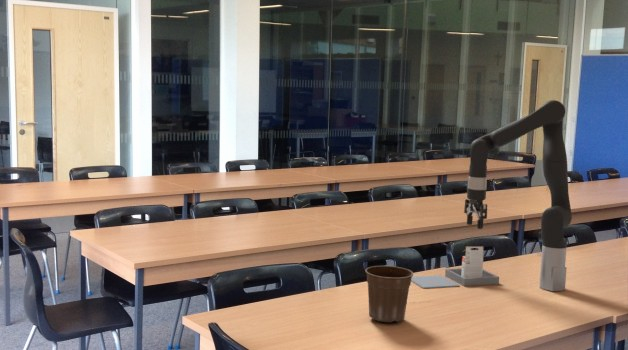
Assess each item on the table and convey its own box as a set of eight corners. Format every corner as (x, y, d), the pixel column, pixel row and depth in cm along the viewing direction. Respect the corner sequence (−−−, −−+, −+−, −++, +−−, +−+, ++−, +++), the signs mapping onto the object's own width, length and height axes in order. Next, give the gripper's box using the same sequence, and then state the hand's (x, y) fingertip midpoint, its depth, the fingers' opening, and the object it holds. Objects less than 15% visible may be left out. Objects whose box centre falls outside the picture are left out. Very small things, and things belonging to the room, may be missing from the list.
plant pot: (414, 312, 248) (416, 267, 246) (407, 327, 232) (409, 279, 230) (368, 307, 252) (370, 263, 250) (359, 321, 237) (361, 274, 235)
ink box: (460, 278, 296) (462, 244, 294) (479, 278, 297) (481, 244, 295) (463, 281, 292) (465, 246, 290) (482, 281, 293) (484, 246, 291)
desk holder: (498, 284, 289) (499, 276, 289) (463, 286, 284) (464, 278, 284) (478, 274, 304) (479, 267, 304) (445, 275, 299) (445, 269, 299)
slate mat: (459, 286, 284) (459, 285, 284) (423, 288, 279) (423, 287, 279) (440, 276, 299) (440, 275, 299) (406, 278, 294) (406, 276, 294)
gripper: (494, 190, 284) (491, 229, 286) (476, 185, 298) (473, 223, 300) (477, 190, 282) (475, 230, 284) (460, 185, 295) (458, 223, 297)
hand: (474, 226), depth 292 cm, fingers open, 8 cm apart
